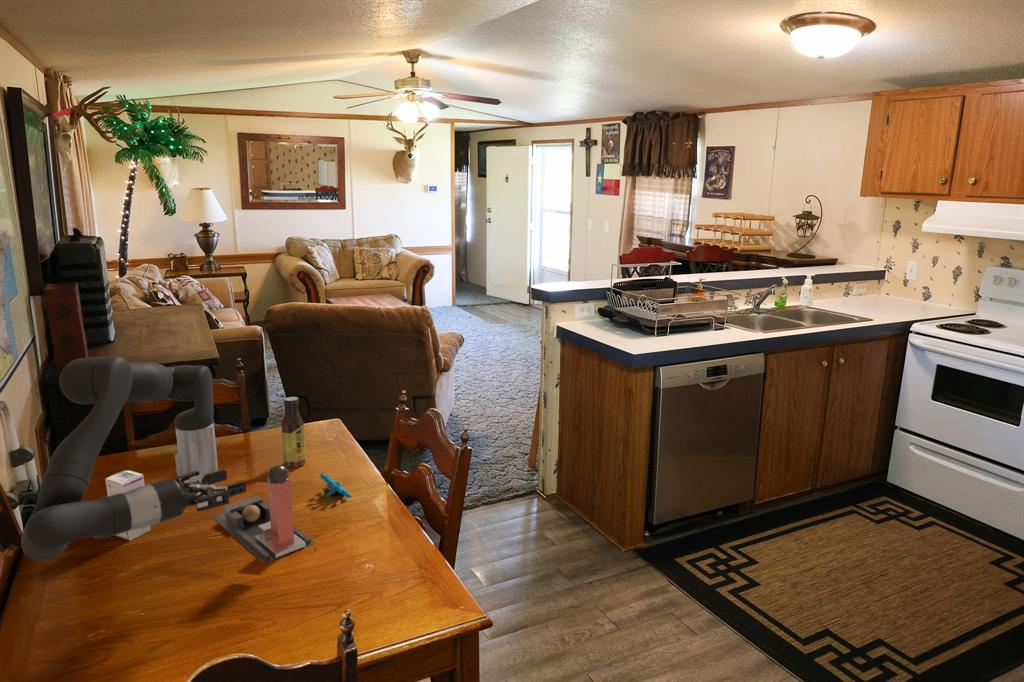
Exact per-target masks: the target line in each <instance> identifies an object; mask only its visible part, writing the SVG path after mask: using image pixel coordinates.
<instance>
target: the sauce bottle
mask: <svg viewBox="0 0 1024 682" xmlns="http://www.w3.org/2000/svg"><path fill="white" fill-rule="evenodd" d="M299 400H300V399H299V397H297V396H289V397H284V398H283V405H284V416H283V417H282V419H281V444H282V446H281V447H282V460H283V466H285V467H286V468H298V467H301V466H303V465H305V463H306V439H305V436H306V435H305V424H304V421H303V418H302V416H301V413H300V410H299V402H300V401H299Z"/></svg>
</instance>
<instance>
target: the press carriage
mask: <svg viewBox="0 0 1024 682" xmlns="http://www.w3.org/2000/svg"><path fill="white" fill-rule="evenodd" d="M266 481H267V495H268V504H269V511H270V522H267V523H264V524H262V525H259V526H258V530H259V535H257V536H255V541H256V542H257V543H258V544H260V545H261V546H262V547H263V548H264V549H265V550H267V551H268V552H269V553H270V554H271V555H273V556H274V557H275V558H277V557H280V556H282V555H285V554H287V553H290V552H293V551H295V550H298V549H300V548H303V547H305V546H306V543H305V541H303V540H302V539H301V538H299V537H298V536H297V535H295V534H294V531H293V526H294V519H293V506H292V505H293V504H292V503H293V501H292V491H291V489H292V488H291V479H290V472H289V470H288V467H286V466H285V465H282V464H276V465H274V466H271V468H270V469H269V470H268V472H267V479H266ZM305 548H306V547H305ZM303 549H304V548H303ZM300 550H301V549H300ZM298 551H299V550H298ZM295 552H296V551H295ZM293 553H294V552H293ZM290 554H291V553H290ZM285 556H286V555H285ZM280 558H281V557H280Z"/></svg>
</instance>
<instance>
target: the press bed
mask: <svg viewBox="0 0 1024 682" xmlns="http://www.w3.org/2000/svg"><path fill="white" fill-rule="evenodd" d="M249 505H255V506H257V507H258V508H259V510H260V516H259V518H258V519H257V520H256V521H255V522H246V521H245V520H244V519H243V516H242V512H243V510H244V509H245V508H246V507H247V506H249ZM211 518H212V519H213V520H214V521H215V522H216V523H218V525H220V526H221V527H222V528H223V529H225V531H227V532H228V533H229V534H230V535H231V536H232V537H234V538H235V539H236V540H237V541H238V542H240V544H242V545H243V546H244V547H245V548H246V549H247V550H248V551H249V552H251V554H253V555H254V556H255V557H256V558H258V559H259V560H260V562H262V563H263V564H267V563H270V562H273V561H275V560H277V559H280V558H283V557H284V556H288V555H290V554H292V553H295V552H297V551H299V550H303V549H305V548H308V547H310V546H312V545H315V544H316V542H315V541H314V540H313V539H311V538H310V536H308V535H307V534H305V533H304V532H302V531H301V530H300V529H298V528H297V527H296V526H294V525H293V531H294V534H295V535H297V536H298V537H299V538H301V539H302V540H303V541H305V543H306V546H305V547H303V548H300V549H298V550H295V551H293V552H290V553H287V554H285V555H282V556H280V557H277V558H275V557H274V556H273V555H271V554H270V553H269V552H268V551H267V550H265V549H264V548H263V547H262V546H261V545H260V544H258V543H257V542H256V541H255V536H257V535H259V530H258V526H259V525H262V524H264V523H267V522H270V511H269V503H268V502H266V501H264V500H263V498H262V497H260V496H259V495H254V496H250V497H249V498H245V499H241V500H238V501H235V502H233V503H228V504H225V505H224V512H223V513H218V514H216V515H213V516H211ZM313 550H314V551H315V550H317V547H315V548H314V549H313Z"/></svg>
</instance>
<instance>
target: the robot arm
mask: <svg viewBox="0 0 1024 682" xmlns="http://www.w3.org/2000/svg"><path fill="white" fill-rule="evenodd" d="M212 376H213V375H212V372H211V370H210V368H209V367H208V366H206V365H174V366H167V367H166V366H164V365H163V364H161V363H157V362H152V361H151V362H150V361H130V362H128V360H126V359H125V358H124V357H121V356H116V355H115V356H113V355H112V356H91V357H82V358H81V357H80V358H76V359H74V360H72V361H70V362H68V363H67V364H66V365H65V366H64V367H63V369H62V370H61V372H60V376H59V381H58V382H59V383H58V384H59V387H60V390H61V391H62V393H63V395H64V396H65V397H66V399H68V400H69V401H71V402H72V403H75V404H78V405H93V407H92V409H91V410H90V412H89V413H88V414H87V415H86V417H85V418H84V419H83V420H82V422H80V423H79V424H78V425H77V427H75V428H74V430H72V431H71V432H70V433H69V434H68V435H67V436H66V437H65V438H64V439H63V440H62V441H61V442H60V443H59V444H58V445H57V447H56V449H55V450H54V452H52V454H51V457H50V459H49V460H48V463H47V467H46V470H45V472H44V475H43V478H42V480H41V483H40V488H39V492H38V497H37V500H36V502H35V505H34V507H33V510H32V511H31V513H30V516H29V519H27V522H26V524H25V526H24V529H23V532H22V535H21V540H20V547H21V549H22V552H23V553H24V554H25V556H26V557H28V558H29V559H31V560H34V561H38V562H44V561H49V560H52V559H54V558H56V557H58V556H60V555H61V554H62V553H63V552H64V551H65V550H66V549H67V548H68V546H69V543H72V542H74V541H77V540H83V539H86V538H91V537H92V538H95V539H106V538H109V537H114V535H117V534H120V533H123V532H126V531H130V530H134V529H140V528H144V527H147V526H150V527H151V526H155V525H156V524H160V523H163V522H166V521H169V520H173V519H177V518H179V517H182V515H183V514H184V511H185V509H186V508H187V507H193V506H196V511H197V512H203V511H208V510H210V509H215V508H219V507H221V506H226V505H229V504H230V497H231V498H232V497H234V496H237V495H241V494H244V493H246V491H247V483H246V482H245V481H243V480H242V481H238V482H235V483H232V484H228V485H226V486H224V485H223V486H216V485H217V484H219V483H220V482H223V481H226V480H227V479H228V475H227V474H228V473H227V470H226V469H220V470H219V463H218V456H217V455H218V453H217V443H216V435H215V434H216V432H215V423H214V420H215V419H214V412H215V411H214V409H215V408H214V407H215V406H214V391H213V390H214V387H213V386H214V385H213V377H212ZM163 399H165V400H168V401H169V400H171V401H173V402H174V401H176V402H194V407H192V408H190V409H187V410H184V411H182V412H179V413H178V414H176V416H175V417H174V427H175V436H176V444H177V446H176V447H177V452H176V453H175V455H174V460H175V471H176V476H174V477H172V478H167V479H163V480H160V481H156V482H155V481H154V482H152V483H147V484H144V486H140V487H136V488H133V489H131V490H128V491H126V492H123V493H120V494H116V495H112V496H108V495H107V496H104V497H101V498H98V499H96V500H89V501H87V500H86V501H83V499H84V497H85V494H86V492H87V490H88V487H89V484H90V481H91V478H92V475H93V471H94V470H95V469H94V468H95V465H96V462H97V460H98V457H99V454H100V452H101V449H102V447H103V445H104V443H105V441H106V439H107V438H108V436H109V434H110V432H111V430H112V428H113V426H114V425H115V423H116V422H117V419H118V417H119V415H120V413H121V411H122V409H123V408H124V405H125V404H126V402H131V403H154V402H155V403H156V402H159V401H162V400H163Z"/></svg>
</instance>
